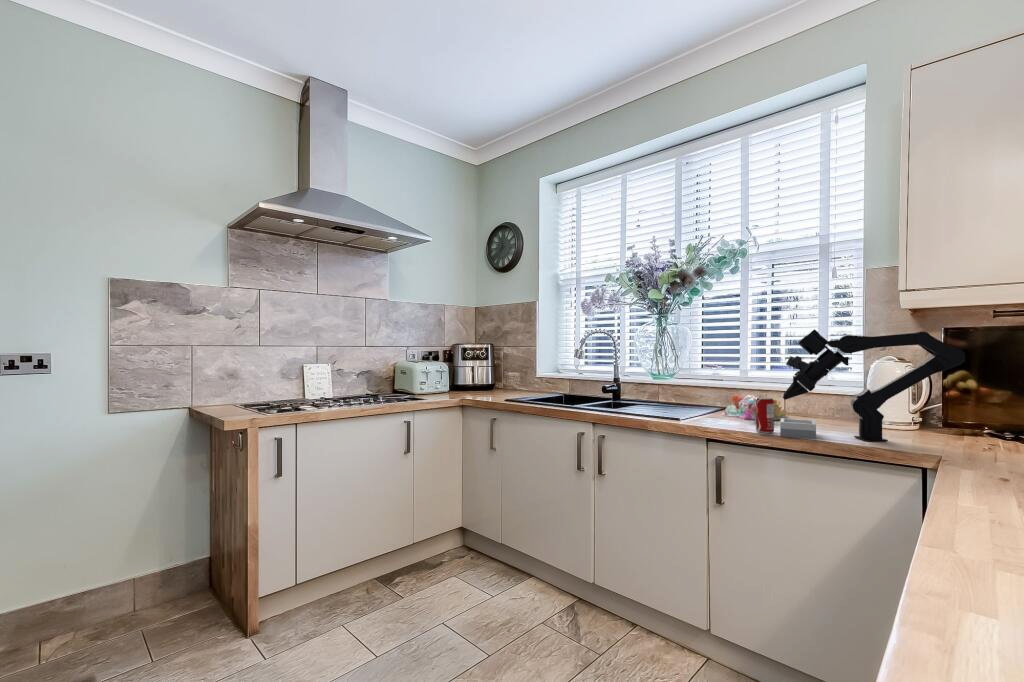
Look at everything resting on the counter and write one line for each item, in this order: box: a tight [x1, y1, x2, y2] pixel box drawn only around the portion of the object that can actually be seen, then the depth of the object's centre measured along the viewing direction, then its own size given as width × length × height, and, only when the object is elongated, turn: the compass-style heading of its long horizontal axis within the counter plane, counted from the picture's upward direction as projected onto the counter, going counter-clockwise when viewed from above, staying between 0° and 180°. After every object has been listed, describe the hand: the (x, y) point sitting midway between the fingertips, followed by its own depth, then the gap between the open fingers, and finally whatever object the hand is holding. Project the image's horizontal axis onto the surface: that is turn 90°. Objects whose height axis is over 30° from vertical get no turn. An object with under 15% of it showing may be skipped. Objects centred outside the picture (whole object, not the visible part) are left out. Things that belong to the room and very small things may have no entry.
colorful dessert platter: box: [721, 393, 788, 421], centre depth 207 cm, size 25×24×9 cm
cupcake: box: [750, 391, 775, 422], centre depth 189 cm, size 9×8×12 cm
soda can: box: [755, 396, 775, 434], centre depth 170 cm, size 6×6×12 cm
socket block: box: [779, 417, 817, 440], centre depth 164 cm, size 10×10×4 cm
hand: (783, 397), depth 167 cm, fingers open, 9 cm apart
